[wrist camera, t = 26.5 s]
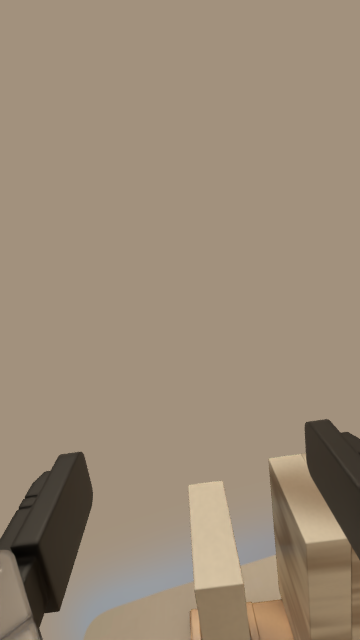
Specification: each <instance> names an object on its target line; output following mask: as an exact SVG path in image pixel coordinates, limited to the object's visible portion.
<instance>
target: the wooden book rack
mask: <svg viewBox="0 0 360 640" xmlns="http://www.w3.org/2000/svg"><path fill="white" fill-rule="evenodd" d="M268 460H269V472H270V485H271V496H272V509H273V522H274V533H275V547H276V559H277V572H278V584H279V591H280V595H281V598H282V599H281V600H274V601H266V602H258V603H252V602H246V606H247V615H248V624H249V632H250V640H360V560H359V558H358V556H357V555H356V553H355V551H354V550H353V548H352V546H351V544H350V543H349V541H348V539H347V538H346V536H345V534H344V533H343V531H342V529H341V527H340V526H339V524H338V522H337V521H336V519H335V517H334V515H333V514H332V512H331V510H330V509H329V507H328V505H327V504H326V502H325V500H324V498H323V497H322V495H321V493H320V492H319V490H318V488H317V486H316V485H315V483H314V481H313V480H312V478H311V476H310V473H309V470H308V466H307V461H306V453H304V454H298V455H290V456H282V457H274V458H269V459H268ZM190 629H191V640H203V639H202V633H201V627H200V621H199V615H198V609H191V611H190Z"/></svg>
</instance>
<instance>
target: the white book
mask: <svg viewBox="0 0 360 640" xmlns="http://www.w3.org/2000/svg"><path fill="white" fill-rule="evenodd" d="M188 491H189V509H190V525H191V542H192V558H193V559H192V560H193V576H194V591H195V597H196V603H197V609H198V615H199V621H200V627H201V633H202V639H203V640H250V632H249V624H248V615H247V606H246V598H245V589H244V582H243V577H242V572H241V567H240V563H239V557H238V553H237V548H236V543H235V538H234V533H233V529H232V523H231V518H230V514H229V509H228V504H227V499H226V494H225V489H224V484H223V481H215V482H208V483H200V484H193V485H188Z"/></svg>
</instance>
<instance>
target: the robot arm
mask: <svg viewBox="0 0 360 640" xmlns="http://www.w3.org/2000/svg"><path fill="white" fill-rule="evenodd" d="M305 443H306V461H307V466H308V470H309V473H310V476H311V478H312V480H313V481H314V483H315V485H316V486H317V488H318V490H319V492H320V493H321V495H322V497H323V498H324V500H325V502H326V504H327V505H328V507H329V509H330V510H331V512H332V514H333V515H334V517H335V519H336V521H337V522H338V524H339V526H340V527H341V529H342V531H343V533H344V534H345V536H346V538H347V539H348V541H349V543H350V544H351V546H352V548H353V550H354V551H355V553H356V555H357V556H358V558H359V560H360V439H359V438H357V437H356V436H354V435H352V434H350V433H349V432H343V433H340V432H339V431H338V429H337V428H336V427H335V426H334V425H333V424H332V423H331V421H330V420H327V419H325V420H318V421H310V422H306V423H305ZM92 500H93V492H92V485H91V481H90V477H89V473H88V469H87V465H86V461H85V457H84V454H83V453H82V452H75V453H68V454H61V455H59V457H58V458H57V460H56V462H55V464H54V466H53V467H52V470H51V471H46V472H44V473H43V474H42V475H41V476H40V477H39V478H38V479H37V480H36V481H35V482H34V483H33V484H32V486H31V487H30V489H29V490H28V492H27V494H26V496H25V499H23V501H22V503H21V504H20V506H19V510H17V511H16V513H15V515H14V516H13V518H12V520H11V521H10V523H9V525H8V527H7V528H6V530H5V532H4V534H3V535H2V537H1V539H0V640H43V639H42V636H41V632H40V630H39V627H40V624H41V621H42V618H43V616H44V613H50V612H58V611H60V607H61V604H62V601H63V598H64V595H65V591H66V588H67V585H68V582H69V578H70V575H71V572H72V569H73V565H74V562H75V559H76V556H77V552H78V549H79V546H80V542H81V539H82V536H83V533H84V530H85V526H86V523H87V520H88V517H89V513H90V510H91V506H92Z"/></svg>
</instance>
